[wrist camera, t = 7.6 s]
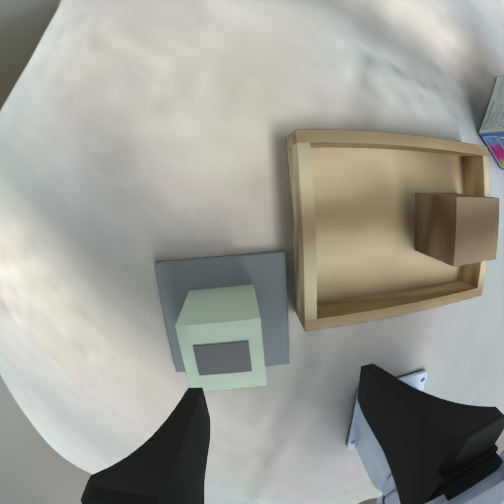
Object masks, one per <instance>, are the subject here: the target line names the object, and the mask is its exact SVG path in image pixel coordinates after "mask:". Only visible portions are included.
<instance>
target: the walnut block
mask: <svg viewBox="0 0 504 504" xmlns="http://www.w3.org/2000/svg"><path fill="white" fill-rule="evenodd" d="M498 223H499V198H493V197H486V196H477V195H468V194H459V193H415V247H414V250H415V251H417V252H420V253H422V254H425V255H427V256H429V257H432V258H434V259H437V260H439V261H441V262H444V263H446V264H448V265H451V266H453V267H455V266H460V265H466V264H472V263H477V262H483V261H488V260H493V259H496V251H497V239H498Z"/></svg>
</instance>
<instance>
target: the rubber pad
mask: <svg viewBox="0 0 504 504" xmlns="http://www.w3.org/2000/svg"><path fill="white" fill-rule="evenodd" d="M155 269H156V275H157V281H158V287H159V292H160V298H161V303H162V308H163V314H164V319H165V323H166V328H167V333H168V338H169V342H170V347H171V351H172V355H173V359H174V364H175V368H176V372H186V370H185V366H184V362H183V358H182V354H181V350H180V345H179V341H178V337H177V332H176V328H175V325H176V323H177V320H178V317H179V315H180V312H181V310H182V307H183V305H184V302H185V300H186V297H187V295H188V292H189V291H190V290H201V289H211V288H221V287H231V286H241V285H250V284H254V289H255V294H256V299H257V304H258V309H259V313H260V318H261V329H262V340H263V350H264V361H265V366H272V365H281V364H289V335H288V303H287V278H286V256H285V252H284V251H275V252H264V253H252V254H241V255H229V256H218V257H206V258H194V259H183V260H171V261H160V262H156V263H155Z"/></svg>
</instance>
